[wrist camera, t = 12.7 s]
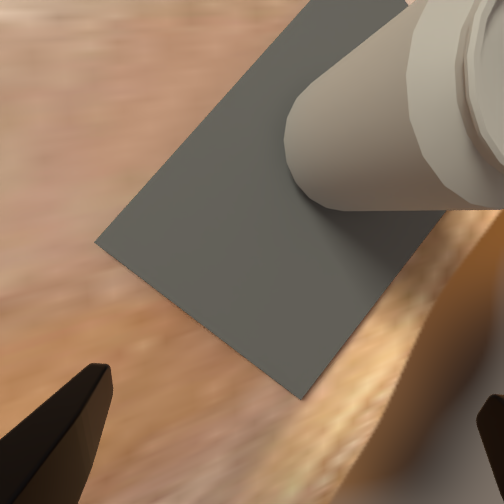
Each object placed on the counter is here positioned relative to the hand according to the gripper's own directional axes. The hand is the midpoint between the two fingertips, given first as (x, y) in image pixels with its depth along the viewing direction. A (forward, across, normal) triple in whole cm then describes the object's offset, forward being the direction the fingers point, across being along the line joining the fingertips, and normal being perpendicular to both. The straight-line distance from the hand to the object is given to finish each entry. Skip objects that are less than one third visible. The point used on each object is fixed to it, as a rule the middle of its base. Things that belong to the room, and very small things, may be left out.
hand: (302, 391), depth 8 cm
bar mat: (+15, -3, 0) cm, 16 cm away
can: (+16, -4, -2) cm, 16 cm away
